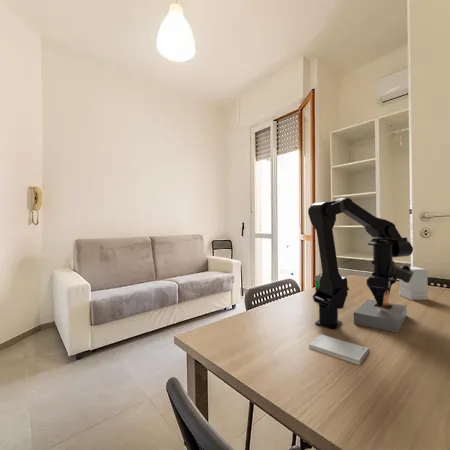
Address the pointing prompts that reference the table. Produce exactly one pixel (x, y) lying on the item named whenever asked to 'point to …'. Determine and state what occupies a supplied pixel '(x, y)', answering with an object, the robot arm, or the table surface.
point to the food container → (317, 281)
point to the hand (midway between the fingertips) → (383, 302)
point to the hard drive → (340, 349)
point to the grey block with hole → (381, 316)
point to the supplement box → (415, 285)
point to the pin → (385, 301)
